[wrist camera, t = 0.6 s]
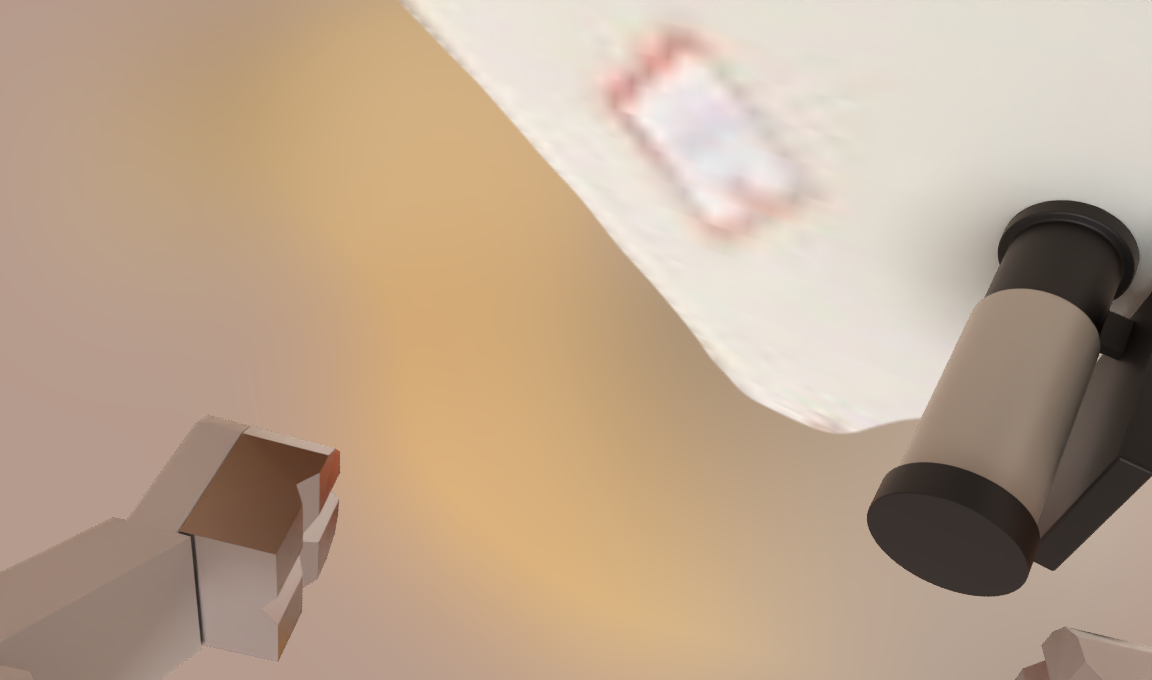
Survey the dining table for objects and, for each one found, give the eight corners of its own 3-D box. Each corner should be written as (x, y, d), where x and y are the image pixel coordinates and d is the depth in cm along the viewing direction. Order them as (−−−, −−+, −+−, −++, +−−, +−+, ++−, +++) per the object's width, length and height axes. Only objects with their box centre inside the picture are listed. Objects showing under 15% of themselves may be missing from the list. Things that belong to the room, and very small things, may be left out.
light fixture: (1042, 158, 61) (901, 451, 48) (1227, 229, 57) (1129, 564, 45) (974, 283, 70) (842, 554, 58) (1129, 350, 67) (1025, 652, 54)
